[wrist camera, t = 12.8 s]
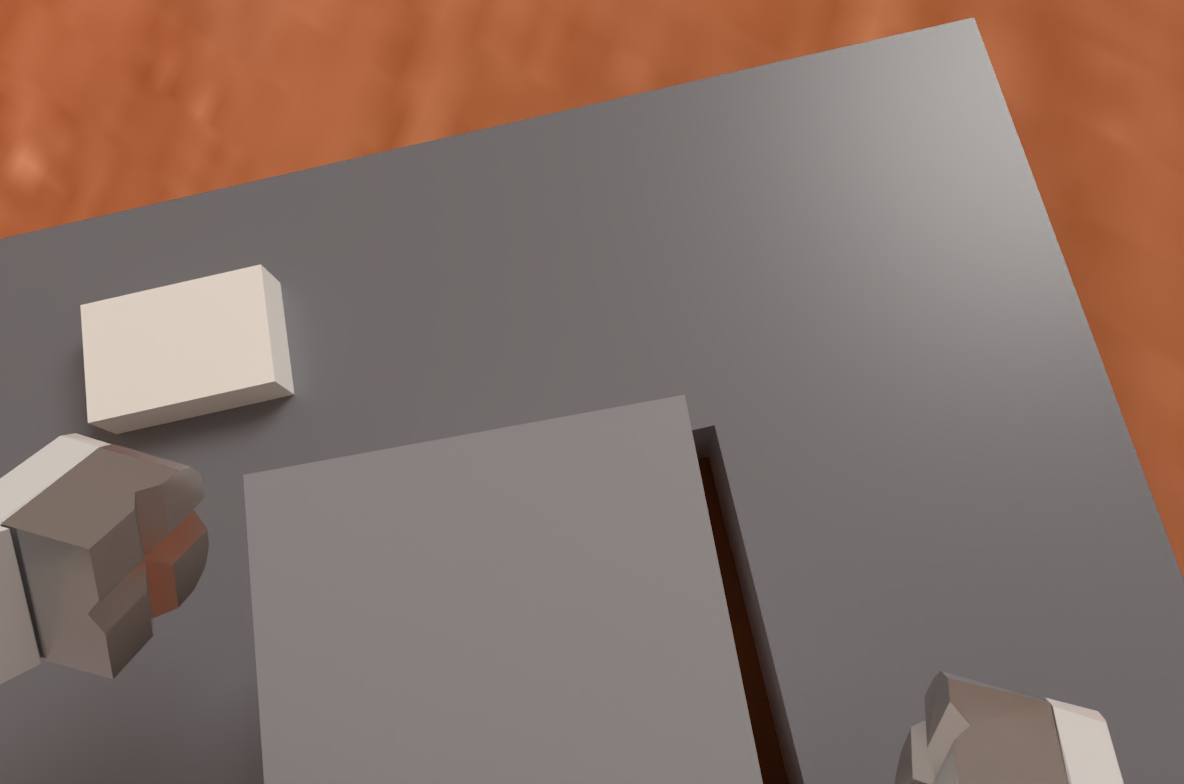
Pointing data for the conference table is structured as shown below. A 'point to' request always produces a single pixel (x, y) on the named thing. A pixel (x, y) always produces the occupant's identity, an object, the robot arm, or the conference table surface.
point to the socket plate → (641, 392)
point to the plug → (498, 611)
